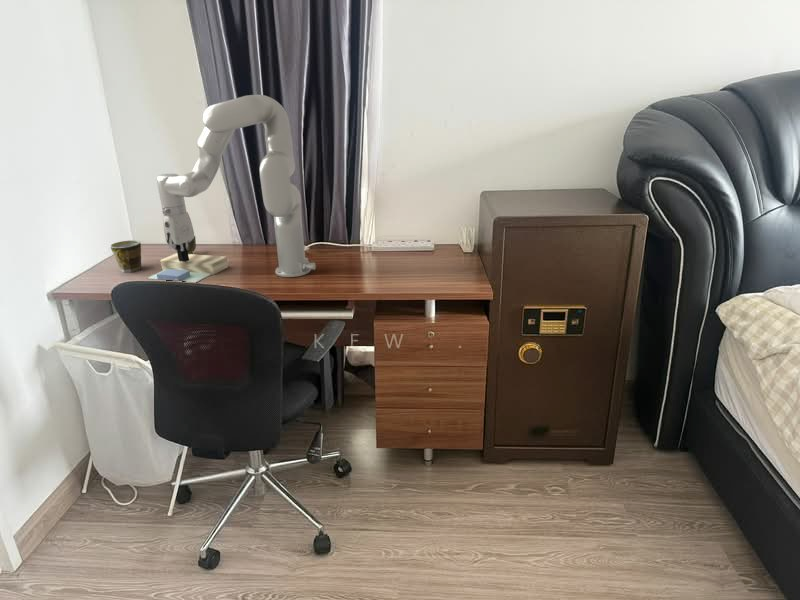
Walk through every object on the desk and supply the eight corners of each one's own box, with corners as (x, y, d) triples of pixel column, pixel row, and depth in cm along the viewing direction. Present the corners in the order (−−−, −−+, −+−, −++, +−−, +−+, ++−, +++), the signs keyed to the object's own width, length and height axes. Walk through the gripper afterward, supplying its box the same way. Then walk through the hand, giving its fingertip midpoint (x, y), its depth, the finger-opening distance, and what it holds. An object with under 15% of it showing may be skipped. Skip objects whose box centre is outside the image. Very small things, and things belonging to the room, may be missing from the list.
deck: (228, 266, 194) (226, 256, 193) (213, 274, 186) (211, 264, 185) (178, 263, 200) (176, 253, 199) (162, 270, 192) (160, 260, 191)
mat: (211, 274, 187) (211, 273, 187) (195, 283, 179) (195, 282, 179) (164, 270, 192) (164, 269, 192) (147, 278, 184) (147, 278, 184)
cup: (198, 252, 213) (195, 233, 210) (198, 257, 207) (195, 237, 204) (179, 254, 211) (175, 235, 208) (178, 259, 205) (174, 239, 202)
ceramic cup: (123, 266, 199) (116, 240, 195) (149, 264, 199) (144, 239, 196) (108, 277, 187) (101, 250, 183) (137, 276, 187) (131, 249, 184)
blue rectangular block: (178, 276, 179) (179, 281, 180) (189, 270, 184) (190, 276, 185) (156, 274, 181) (157, 279, 182) (168, 268, 187) (169, 274, 187)
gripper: (169, 215, 173) (179, 268, 179) (197, 206, 186) (205, 255, 193) (150, 214, 175) (161, 266, 182) (179, 205, 188) (188, 254, 195)
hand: (184, 260), depth 187 cm, fingers closed
